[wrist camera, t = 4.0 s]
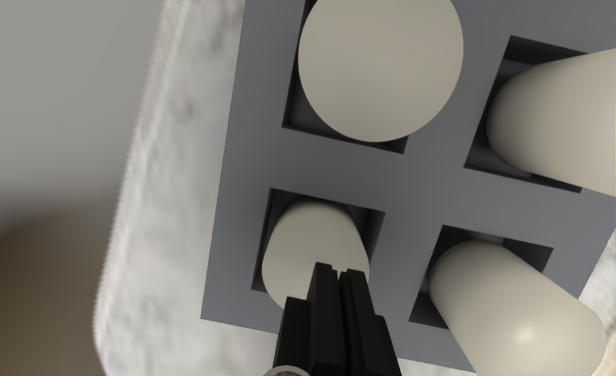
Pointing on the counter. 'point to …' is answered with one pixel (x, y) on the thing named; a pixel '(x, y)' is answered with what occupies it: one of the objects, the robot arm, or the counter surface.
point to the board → (402, 172)
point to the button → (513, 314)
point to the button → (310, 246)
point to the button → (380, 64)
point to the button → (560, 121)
